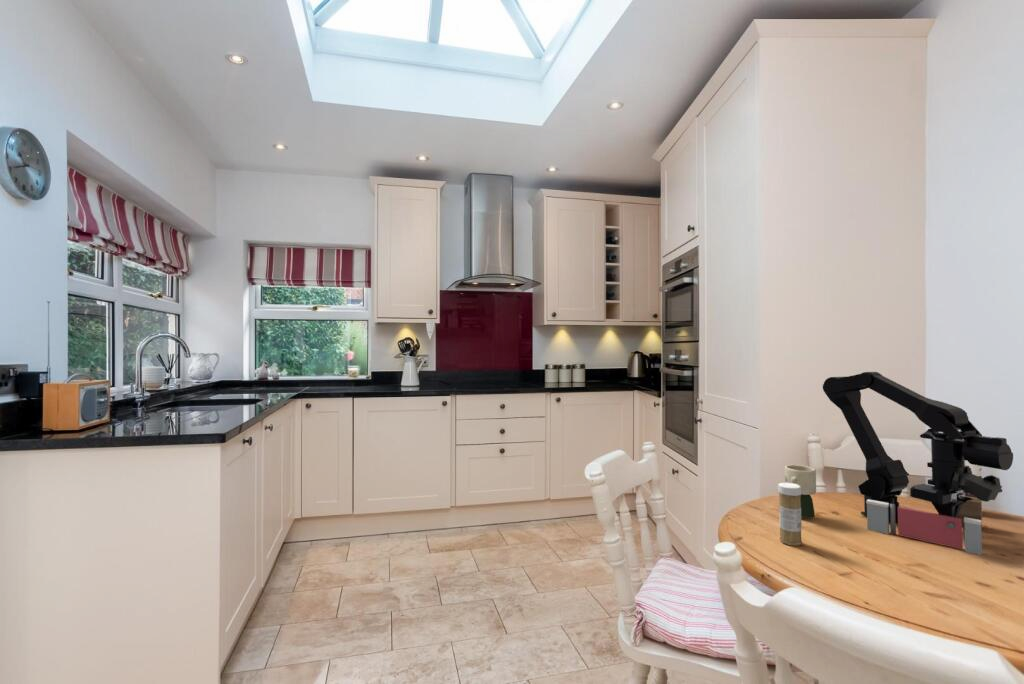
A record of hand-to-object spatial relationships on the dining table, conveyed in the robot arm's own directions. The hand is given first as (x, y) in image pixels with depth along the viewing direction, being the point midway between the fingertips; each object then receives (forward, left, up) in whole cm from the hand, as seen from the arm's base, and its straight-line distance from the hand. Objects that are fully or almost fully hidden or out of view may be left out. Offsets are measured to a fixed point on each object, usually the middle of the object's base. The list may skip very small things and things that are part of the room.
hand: (949, 526), depth 108 cm
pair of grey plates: (-7, -1, -3) cm, 8 cm away
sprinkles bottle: (-38, -5, -3) cm, 38 cm away
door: (-6, -2, -3) cm, 7 cm away
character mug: (-27, +13, -3) cm, 30 cm away
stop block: (+11, +9, -3) cm, 15 cm away
